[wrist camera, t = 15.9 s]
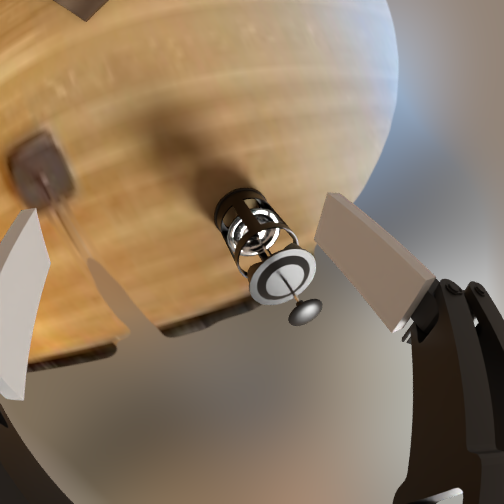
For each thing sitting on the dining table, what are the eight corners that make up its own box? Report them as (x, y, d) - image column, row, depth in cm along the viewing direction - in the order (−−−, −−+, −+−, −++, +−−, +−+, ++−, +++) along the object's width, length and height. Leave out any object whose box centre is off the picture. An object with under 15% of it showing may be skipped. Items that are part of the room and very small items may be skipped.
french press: (202, 202, 42) (252, 313, 25) (254, 174, 43) (338, 263, 26) (232, 251, 50) (284, 356, 33) (277, 226, 51) (347, 319, 34)
